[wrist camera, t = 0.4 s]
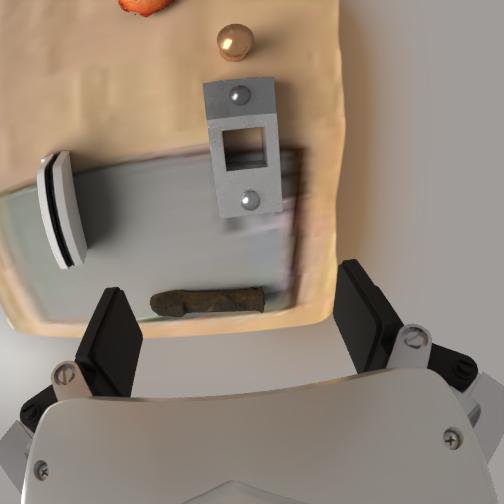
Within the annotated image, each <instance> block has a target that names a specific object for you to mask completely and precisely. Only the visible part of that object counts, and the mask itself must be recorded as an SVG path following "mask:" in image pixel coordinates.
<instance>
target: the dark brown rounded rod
mask: <svg viewBox="0 0 504 504" xmlns="http://www.w3.org/2000/svg"><path fill="white" fill-rule="evenodd" d="M264 305H265V299H264V292H263V289H262V287H261V286H260V287H259V288H257V289H254V288H252V287H251V288H250V289H248V290H235V291H220V290H218V291H208V292H185V291H183V290H173V291H168V292H164V293H160V294H157V295H154V296H152V297H151V300H150V306H151V308H152V310H153V311H154V312H155V313H157V314H158V316H171V317H183V316H184V315H185V313H192V312H230V311H231V312H234V311H254V310H256V311H259V312H261V313H263V311H264Z"/></svg>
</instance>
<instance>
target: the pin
mask: <svg viewBox="0 0 504 504" xmlns="http://www.w3.org/2000/svg"><path fill="white" fill-rule="evenodd" d="M217 43H218V46H219V48H220V53H221V56H222V57H223V58H224V59H225V60H227V61H230V62H237V61H240V60H242V59H243V58H244V57H245V56H246V54H247V52H248V51H249V50H250V49H251V48H252V46H253V43H254V35H253V33H252V31H251V30H250V29H249V28H248V27H246V26H244V25H241V24H231V25H228V26H226V27H224V28H223V29H222V30H221V31H220V32H219V34H218V37H217Z"/></svg>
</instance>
